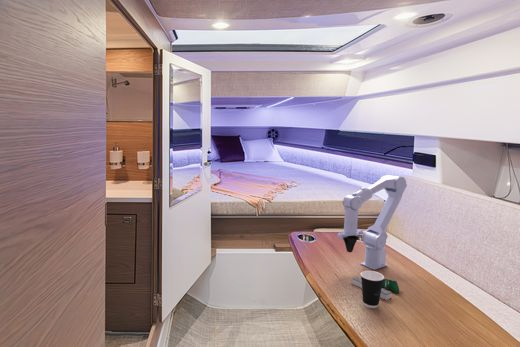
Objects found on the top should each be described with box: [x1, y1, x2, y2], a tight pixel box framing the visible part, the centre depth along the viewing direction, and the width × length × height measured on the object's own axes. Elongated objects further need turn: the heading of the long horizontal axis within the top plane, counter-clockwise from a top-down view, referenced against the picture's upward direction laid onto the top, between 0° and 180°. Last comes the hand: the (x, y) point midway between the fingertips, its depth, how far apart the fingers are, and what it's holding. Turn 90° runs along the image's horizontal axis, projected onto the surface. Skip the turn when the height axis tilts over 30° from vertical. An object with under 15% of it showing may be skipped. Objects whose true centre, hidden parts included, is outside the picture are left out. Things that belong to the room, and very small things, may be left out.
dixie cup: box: [360, 270, 385, 309], centre depth 112 cm, size 8×8×11 cm
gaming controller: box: [382, 278, 400, 295], centre depth 125 cm, size 9×4×6 cm
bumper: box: [351, 276, 392, 301], centre depth 123 cm, size 3×16×2 cm, turn 33°
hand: (349, 251), depth 142 cm, fingers closed
